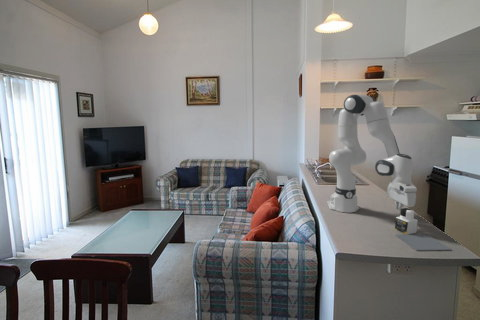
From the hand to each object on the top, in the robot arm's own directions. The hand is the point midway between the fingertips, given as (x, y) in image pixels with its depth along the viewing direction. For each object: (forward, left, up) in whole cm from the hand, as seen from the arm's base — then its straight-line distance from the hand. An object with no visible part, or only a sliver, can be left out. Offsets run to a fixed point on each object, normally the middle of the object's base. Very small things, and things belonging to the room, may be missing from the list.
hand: (398, 209), depth 152 cm
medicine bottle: (+7, 0, -10) cm, 12 cm away
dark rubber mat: (+20, 0, -9) cm, 22 cm away
